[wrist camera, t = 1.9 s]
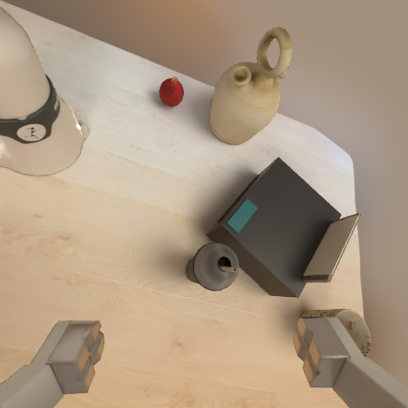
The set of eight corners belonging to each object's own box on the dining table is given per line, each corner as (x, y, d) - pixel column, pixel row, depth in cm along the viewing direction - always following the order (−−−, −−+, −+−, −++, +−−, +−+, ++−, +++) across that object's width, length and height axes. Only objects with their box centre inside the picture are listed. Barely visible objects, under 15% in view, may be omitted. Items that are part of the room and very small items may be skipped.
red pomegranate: (172, 117, 56) (178, 92, 49) (153, 103, 56) (156, 76, 48) (184, 104, 59) (191, 79, 51) (166, 91, 58) (171, 64, 51)
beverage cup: (218, 261, 47) (271, 247, 29) (205, 295, 44) (254, 303, 26) (188, 246, 46) (222, 221, 28) (172, 279, 43) (200, 276, 25)
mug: (310, 296, 50) (349, 299, 41) (345, 346, 49) (393, 360, 40) (287, 322, 47) (324, 330, 38) (325, 376, 45) (372, 398, 36)
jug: (207, 149, 56) (257, 58, 33) (199, 100, 60) (238, -10, 38) (260, 152, 61) (335, 73, 38) (249, 105, 65) (310, 11, 43)
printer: (204, 234, 48) (234, 213, 34) (257, 173, 58) (296, 138, 44) (270, 295, 48) (327, 299, 34) (312, 224, 57) (370, 205, 43)
